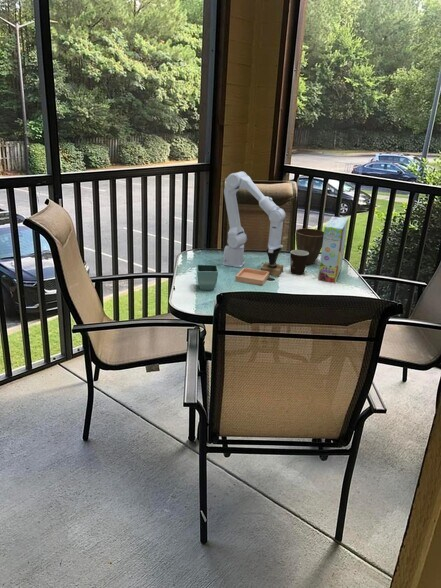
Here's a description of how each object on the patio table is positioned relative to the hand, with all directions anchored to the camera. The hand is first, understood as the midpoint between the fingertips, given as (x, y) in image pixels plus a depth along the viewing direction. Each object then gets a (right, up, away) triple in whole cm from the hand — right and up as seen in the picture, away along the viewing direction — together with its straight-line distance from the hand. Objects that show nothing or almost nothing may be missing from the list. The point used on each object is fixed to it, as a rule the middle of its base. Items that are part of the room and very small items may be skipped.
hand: (272, 263), depth 216 cm
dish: (-10, -7, -8) cm, 15 cm away
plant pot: (+20, +1, +18) cm, 27 cm away
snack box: (+28, -5, +3) cm, 28 cm away
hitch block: (0, -4, +2) cm, 4 cm away
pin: (0, -4, +2) cm, 4 cm away
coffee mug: (+12, -4, +5) cm, 14 cm away
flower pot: (-31, -12, -20) cm, 39 cm away
